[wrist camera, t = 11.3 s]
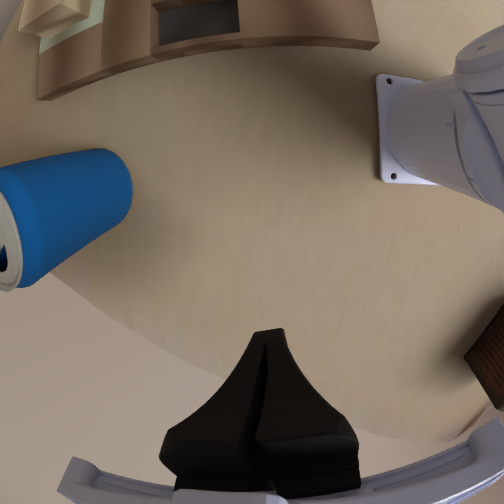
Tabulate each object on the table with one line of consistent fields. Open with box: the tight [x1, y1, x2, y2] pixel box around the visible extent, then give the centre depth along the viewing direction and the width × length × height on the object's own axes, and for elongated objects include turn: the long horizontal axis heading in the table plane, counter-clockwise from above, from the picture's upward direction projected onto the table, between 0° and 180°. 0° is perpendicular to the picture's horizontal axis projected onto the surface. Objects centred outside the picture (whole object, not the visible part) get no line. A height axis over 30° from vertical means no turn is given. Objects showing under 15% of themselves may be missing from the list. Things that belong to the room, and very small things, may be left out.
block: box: [18, 0, 91, 39], centre depth 10 cm, size 4×4×4 cm
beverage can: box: [0, 149, 133, 291], centre depth 14 cm, size 6×6×12 cm
